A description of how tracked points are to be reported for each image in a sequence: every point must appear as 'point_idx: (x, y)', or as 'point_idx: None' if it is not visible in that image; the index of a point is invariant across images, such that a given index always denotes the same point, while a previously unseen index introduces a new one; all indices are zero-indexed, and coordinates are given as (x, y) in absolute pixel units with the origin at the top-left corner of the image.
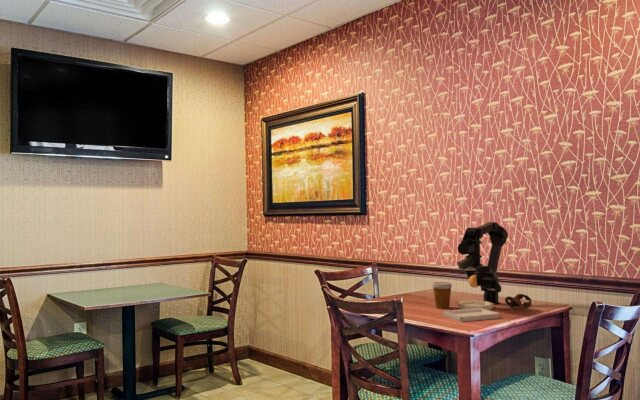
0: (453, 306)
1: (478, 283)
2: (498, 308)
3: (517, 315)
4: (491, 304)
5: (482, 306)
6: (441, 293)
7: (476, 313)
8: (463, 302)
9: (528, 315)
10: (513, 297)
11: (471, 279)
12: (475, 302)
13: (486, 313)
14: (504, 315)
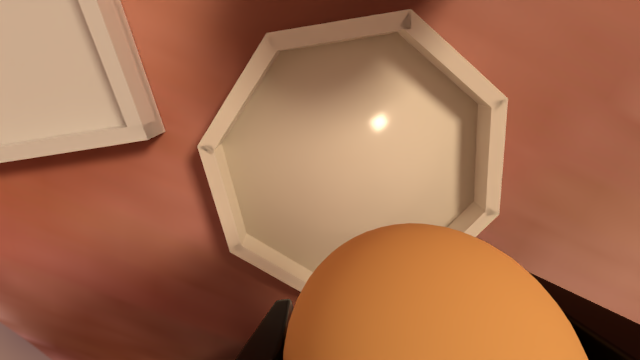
0: (478, 10)
1: (256, 346)
2: (288, 294)
3: (43, 298)
4: (269, 270)
5: (207, 179)
6: None
7: (36, 44)
8: (483, 122)
9: (47, 345)
10: None
11: (364, 324)
12: (459, 222)
13: (41, 128)
14: (37, 232)
